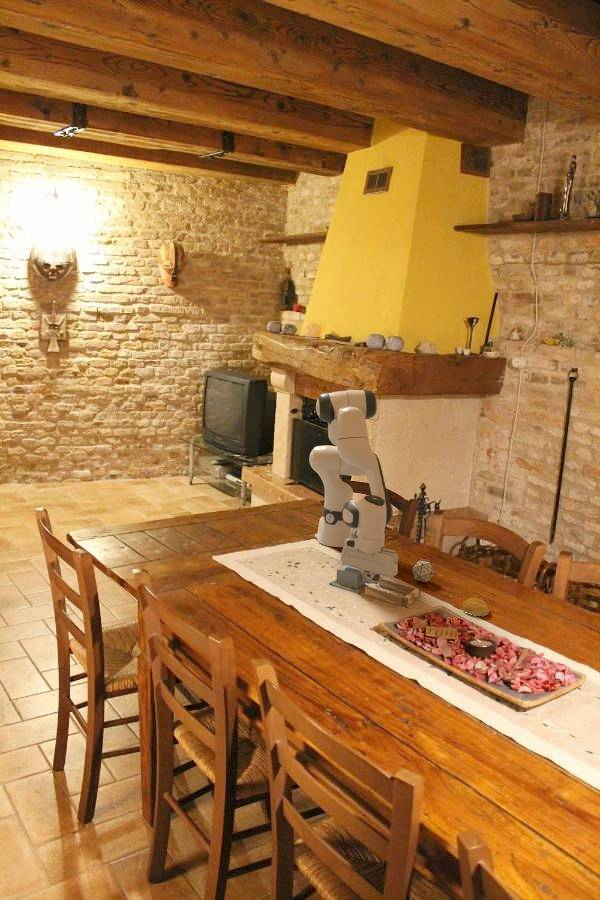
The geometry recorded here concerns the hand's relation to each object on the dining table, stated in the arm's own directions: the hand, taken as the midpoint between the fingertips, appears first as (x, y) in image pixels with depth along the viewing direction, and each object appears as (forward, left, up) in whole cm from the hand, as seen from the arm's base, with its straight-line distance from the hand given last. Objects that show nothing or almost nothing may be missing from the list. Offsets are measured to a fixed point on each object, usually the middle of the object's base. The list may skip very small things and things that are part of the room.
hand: (367, 582), depth 250 cm
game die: (-18, +12, -2) cm, 22 cm away
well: (-10, -6, -2) cm, 12 cm away
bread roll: (-7, +36, -2) cm, 37 cm away
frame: (0, -5, -2) cm, 5 cm away
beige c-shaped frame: (0, +10, -2) cm, 10 cm away
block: (0, -6, -2) cm, 7 cm away
